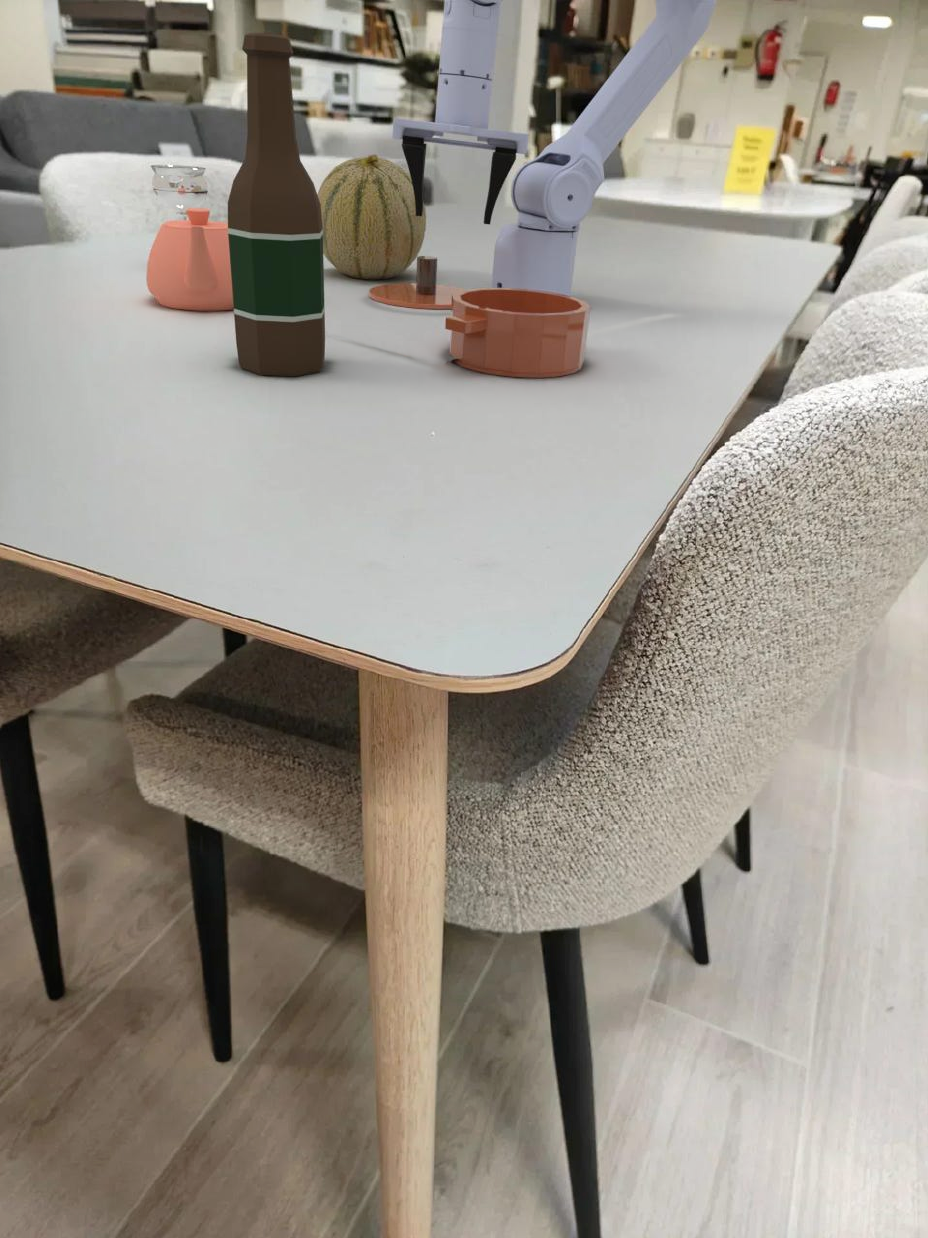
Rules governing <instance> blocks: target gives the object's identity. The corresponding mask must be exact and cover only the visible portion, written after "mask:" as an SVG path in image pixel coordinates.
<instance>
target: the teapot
mask: <svg viewBox="0 0 928 1238" xmlns="http://www.w3.org/2000/svg"><path fill="white" fill-rule="evenodd" d="M210 212H211V210H210V209H208V208H204V207H203V208H202V207H199V208H188V209H186V213H187V215H188V216H187V218H188V219H187V220H180V219H178V220H167V221H164V222H163V223H162V224H161V226H160V227H159V230H158V232H157V233H156V236H155V238H154V240H153V243H152V245H151V249H150V251H149V255H148V259H147V265H146V286H147V289H148V291H149V293H150V294H151V296H153V295H154V296H153V298H154V299H155V300H156V301H157V302H158V304H159V305H160V306H163V307H166V308H170V309H175V310H185V311H198V312H199V311H201V312H202V311H204V312H205V311H207V312H209V311H210V312H212V311H232V310H233V311H234V305H233V292H232V278H231V264H230V251H229V237H228V222H225V221H217V220H216V221H214V220H209V219H210V214H211V213H210ZM155 296H156V297H155ZM158 297H159V298H158Z"/></svg>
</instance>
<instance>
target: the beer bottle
mask: <svg viewBox="0 0 928 1238" xmlns="http://www.w3.org/2000/svg"><path fill="white" fill-rule="evenodd" d="M241 48H242V49H241V50H242V51H243V52H244V53H245V55H246V109H247V111H246V112H247V113H246V114H247V115H246V117H247V119H246V121H247V122H246V124H247V125H246V126H247V133H246V134H247V137H246V146H245V157H244V160H243V162H242V163H241V166H240V167H239V169H238V171H237V172H236V175H235V177H234V178H233V181H232V184H231V188H230V193H229V195H228V196H229V197H228V200H227V223H228V237H229V251H230V264H231V278H232V292H233V306H234V309H233V317H234V329H235V331H234V332H235V343H236V351H237V352H236V353H237V360H238V364H239V366H240V368H241V369H243V370H246V371H248V372H251V373H254V374H257V375H259V376H269V377H270V376H274V377H299V376H304V375H310V374H314V373H320V372H321V371H322V368H323V365H324V362H325V359H326V358H325V355H326V321H325V320H326V317H325V316H326V315H325V314H326V313H325V311H326V310H325V309H326V307H325V271H324V270H325V266H324V265H325V264H324V254H323V226H322V215H321V204H320V201H319V198H318V195H317V194H318V191H317V189H316V186H315V184H314V183H315V182H314V181H313V180H312V178H311V176H310V175H309V173H308V171H307V170H306V167H305V166H304V164H303V163H302V160H301V157H300V152H299V151H300V150H299V145H298V140H297V131H296V120H295V109H294V95H293V85H292V84H293V83H292V75H291V62H290V58H292V57H293V55H294V50H293V47H292V43H291V39H289V38H288V37H286V36H284V35H282V34H276V33H268V32H267V33H265V32H249V33H247V34H245V35H244V37H243V42H242V47H241Z"/></svg>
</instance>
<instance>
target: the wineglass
mask: <svg viewBox="0 0 928 1238" xmlns="http://www.w3.org/2000/svg"><path fill="white" fill-rule="evenodd" d="M150 168H151V170H152V171H153V177H152V183H151V185H152V189H153V192H154V194H155V197H156V198H157V199H158V201H159V202H160V203H161V204H162V205H163V206H164V207H166V208H168V209H170V210H171V211H173V212H175V214H176V215H177V217H179V220H188V219H187V217H188V215H187V213H186V209H188V208H201V206H202V205H203V204H204V202H205V200H206V199H207V196H208V192H209V190H208V188H209V187H208V182H207V180H206V179H205V176H204V174H205V172H206V167H201V166H193V165H177V164H176V165H175V164H153V165H150Z"/></svg>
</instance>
